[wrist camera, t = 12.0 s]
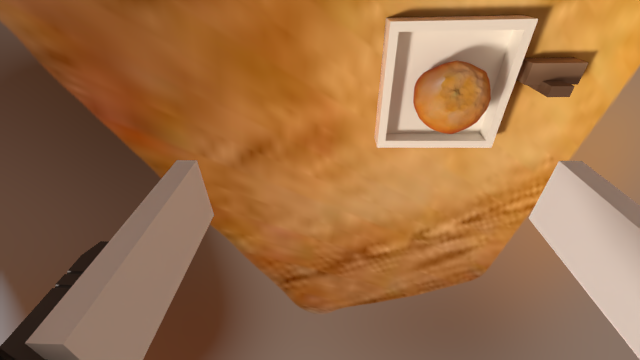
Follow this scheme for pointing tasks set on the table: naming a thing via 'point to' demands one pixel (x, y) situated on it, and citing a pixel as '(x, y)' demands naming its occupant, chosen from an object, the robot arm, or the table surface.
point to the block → (552, 75)
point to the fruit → (452, 96)
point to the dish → (442, 47)
